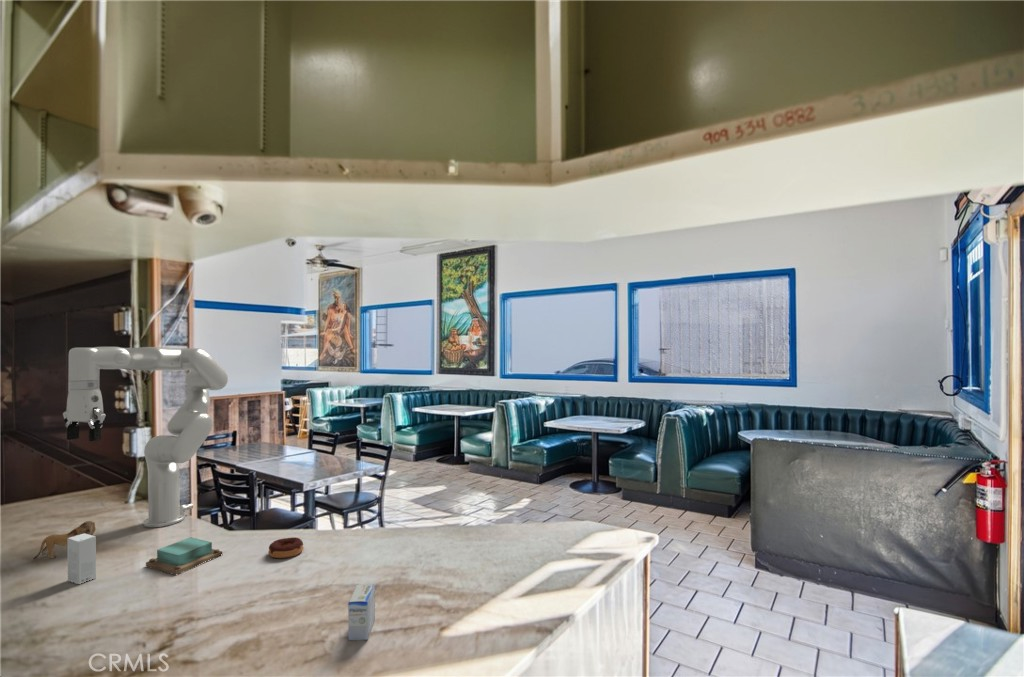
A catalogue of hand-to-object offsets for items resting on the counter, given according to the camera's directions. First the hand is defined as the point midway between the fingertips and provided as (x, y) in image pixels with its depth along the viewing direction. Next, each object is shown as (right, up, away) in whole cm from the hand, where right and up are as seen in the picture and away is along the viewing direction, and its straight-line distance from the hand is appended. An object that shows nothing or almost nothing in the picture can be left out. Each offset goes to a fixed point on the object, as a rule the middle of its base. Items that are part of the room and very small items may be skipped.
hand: (83, 439), depth 158 cm
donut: (+66, -35, -3) cm, 75 cm away
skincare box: (+16, -36, -19) cm, 43 cm away
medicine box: (+102, -35, -45) cm, 117 cm away
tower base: (+38, -35, -8) cm, 52 cm away
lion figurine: (-4, -36, -2) cm, 36 cm away
